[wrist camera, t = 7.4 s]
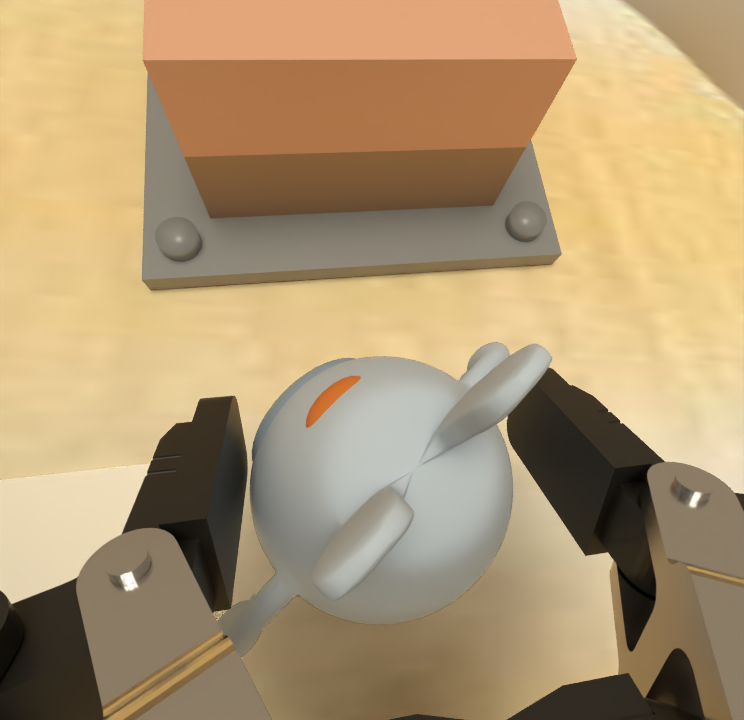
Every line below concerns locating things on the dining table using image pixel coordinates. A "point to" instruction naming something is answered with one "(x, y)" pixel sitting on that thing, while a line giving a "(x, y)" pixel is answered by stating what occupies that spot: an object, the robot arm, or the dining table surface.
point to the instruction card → (60, 524)
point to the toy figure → (383, 486)
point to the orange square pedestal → (346, 137)
